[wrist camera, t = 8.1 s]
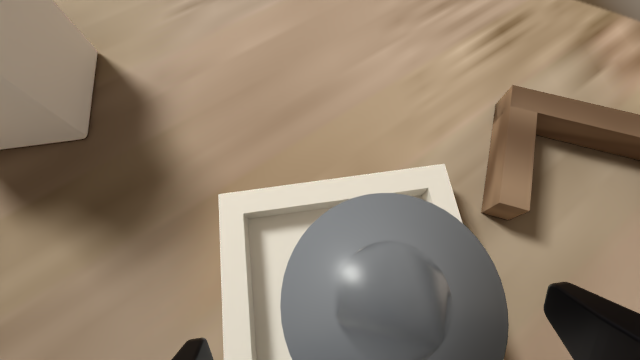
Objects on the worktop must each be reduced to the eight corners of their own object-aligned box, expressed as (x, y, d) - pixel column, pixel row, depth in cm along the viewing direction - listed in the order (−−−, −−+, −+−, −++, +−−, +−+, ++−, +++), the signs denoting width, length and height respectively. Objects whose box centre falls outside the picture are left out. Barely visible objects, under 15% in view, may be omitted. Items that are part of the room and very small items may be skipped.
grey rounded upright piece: (432, 318, 16) (595, 345, 6) (336, 391, 15) (360, 554, 5) (364, 223, 17) (414, 131, 8) (274, 282, 16) (208, 258, 7)
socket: (690, 271, 17) (736, 267, 15) (481, 212, 18) (499, 202, 16) (679, 148, 20) (716, 132, 18) (495, 104, 21) (512, 85, 19)
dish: (501, 417, 15) (526, 434, 13) (240, 462, 14) (227, 486, 12) (432, 177, 19) (444, 163, 17) (228, 205, 19) (218, 194, 17)
